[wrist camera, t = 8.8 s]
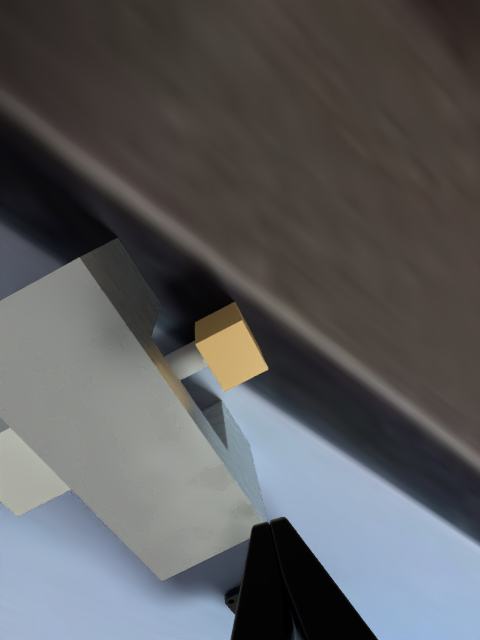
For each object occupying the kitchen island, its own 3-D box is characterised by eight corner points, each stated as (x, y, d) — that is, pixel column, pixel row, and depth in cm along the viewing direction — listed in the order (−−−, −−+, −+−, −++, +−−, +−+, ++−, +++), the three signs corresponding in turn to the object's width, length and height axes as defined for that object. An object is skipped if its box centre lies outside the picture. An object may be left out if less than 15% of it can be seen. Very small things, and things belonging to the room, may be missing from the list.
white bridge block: (249, 444, 22) (269, 529, 16) (169, 485, 22) (161, 581, 17) (117, 237, 17) (79, 257, 11) (14, 293, 17) (-75, 341, 11)
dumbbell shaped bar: (263, 354, 20) (276, 385, 17) (31, 473, 21) (0, 525, 17) (228, 290, 18) (236, 310, 15) (-22, 420, 19) (-67, 467, 16)
